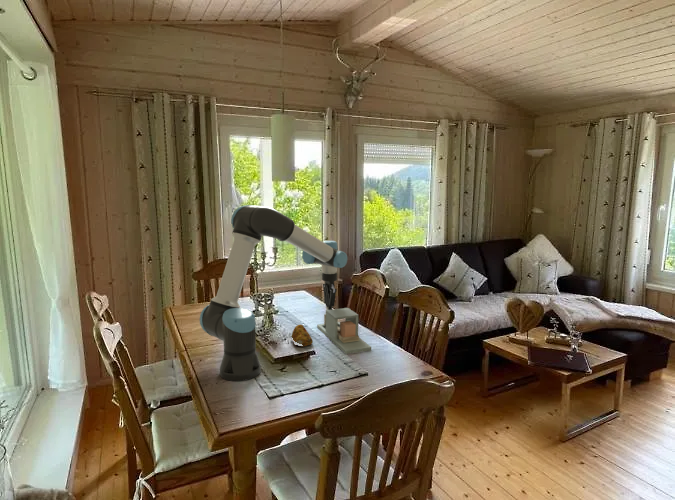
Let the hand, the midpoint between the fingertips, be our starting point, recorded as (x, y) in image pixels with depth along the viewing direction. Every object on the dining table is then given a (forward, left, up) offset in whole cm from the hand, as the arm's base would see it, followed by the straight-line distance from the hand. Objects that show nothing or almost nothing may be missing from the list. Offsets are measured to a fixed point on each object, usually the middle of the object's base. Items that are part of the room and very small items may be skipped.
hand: (329, 318), depth 212 cm
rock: (-16, +20, -5) cm, 26 cm away
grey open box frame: (-14, 0, -2) cm, 14 cm away
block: (-23, 0, -1) cm, 23 cm away
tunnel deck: (-17, 0, -4) cm, 17 cm away
